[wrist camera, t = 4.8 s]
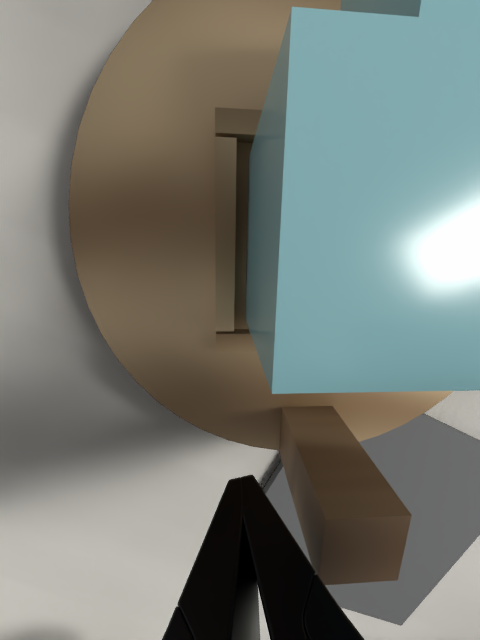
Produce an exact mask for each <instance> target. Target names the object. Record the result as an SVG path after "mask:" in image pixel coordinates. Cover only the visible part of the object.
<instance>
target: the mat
mask: <svg viewBox="0 0 480 640" xmlns="http://www.w3.org/2000/svg"><path fill="white" fill-rule="evenodd" d="M359 443H360V444H361V446H362V447H363V449H364V450H365V451H366V453H367V454H368V456H369V457H370V458H371V460H372V461H373V462H374V464H375V465H376V467H377V468H378V469H379V471H380V472H381V473H382V475H383V476H384V478H385V479H386V480H387V482H388V483H389V485H390V486H391V487H392V489H393V490H394V491H395V493H396V494H397V496H398V497H399V498H400V500H401V501H402V502H403V504H404V505H405V507H406V508H407V509H408V511H409V512H410V513H411V515H412V517H411V522H410V526H409V531H408V535H407V540H406V545H405V549H404V554H403V558H402V563H401V568H400V572H399V577H398V580H397V581H382V582H367V583H352V584H337V585H325V586H326V588H327V589H328V591H329V592H330V593H331V595H332V596H333V598H334V599H335V601H336V602H337V604H338V605H339V606H340V607H342V608H345V609H348V610H352V611H355V612H358V613H361V614H365V615H368V616H371V617H375V618H378V619H381V620H384V621H388V622H391V623H394V624H398V625H402V624H403V623H404V622H405V621H406V620H407V618H408V617H409V616H410V615H411V614H412V613H413V611H414V610H415V609H416V608H417V607H418V606H419V604H420V603H421V602H422V601H423V600H424V599H425V598H426V596H427V595H428V594H429V593H430V592H431V591H432V589H433V588H434V587H435V586H436V585H437V584H438V582H439V581H440V580H441V579H442V578H443V577H444V576H445V574H446V573H447V572H448V571H449V570H450V569H451V567H452V566H453V565H454V564H455V563H456V562H457V560H458V559H459V558H460V557H461V556H462V555H463V553H464V552H465V551H466V550H467V549H468V548H469V547H470V545H471V544H472V543H473V542H474V541H475V540H476V538H477V537H478V536H479V535H480V440H478V439H476V438H473V437H471V436H469V435H467V434H465V433H463V432H461V431H459V430H457V429H455V428H453V427H451V426H449V425H447V424H444V423H442V422H440V421H438V420H436V419H434V418H432V417H430V416H428V415H426V414H424V413H423V414H421V415H419V416H418V417H416V418H414V419H412V420H411V421H409V422H407V423H405V424H404V425H402V426H399V427H397V428H395V429H392V430H390V431H388V432H386V433H383V434H381V435H379V436H376V437H373V438H370V439H366V440H363V441H360V442H359ZM263 491H264V493H265V494H266V496H267V497H268V499H269V500H270V502H271V503H272V505H273V507H274V508H275V510H276V511H277V513H278V514H279V516H280V517H281V519H282V520H283V522H284V523H285V525H286V527H287V528H288V530H289V531H290V533H291V534H292V536H293V537H294V539H295V540H296V542H297V543H298V545H299V546H300V548H301V550H302V551H303V553H304V554H305V556H306V557H307V559H308V560H309V562H310V563H311V561H310V557H309V554H308V550H307V547H306V543H305V540H304V536H303V533H302V530H301V526H300V523H299V519H298V516H297V512H296V509H295V505H294V502H293V498H292V495H291V491H290V488H289V485H288V481H287V478H286V474H285V471H284V467H283V464H282V460H281V461H280V463H279V465H278V466H277V468H276V469H275V471H274V472H273V474H272V476H271V477H270V479H269V480H268V482H267V484H266V485H265V487H264V488H263ZM311 565H312V564H311Z"/></svg>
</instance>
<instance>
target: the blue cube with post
mask: <svg viewBox="0 0 480 640" xmlns="http://www.w3.org/2000/svg"><path fill="white" fill-rule="evenodd" d="M245 320H246V323H247V325H248V328H249V331H250V334H251V337H252V339H253V342H254V345H255V348H256V351H257V354H258V356H259V359H260V362H261V365H262V368H263V370H264V373H265V376H266V379H267V382H268V385H269V387H270V390H271V393H272V394H293V393H352V392H410V391H468V390H480V0H341V8H340V11H339V10H327V9H314V8H302V7H292V8H291V11H290V15H289V18H288V22H287V25H286V29H285V32H284V36H283V39H282V43H281V46H280V50H279V53H278V57H277V60H276V64H275V67H274V71H273V74H272V78H271V81H270V85H269V88H268V92H267V95H266V99H265V102H264V106H263V109H262V113H261V116H260V120H259V123H258V127H257V130H256V134H255V137H254V141H253V144H252V148H251V151H250V155H249V165H248V208H247V251H246V294H245Z"/></svg>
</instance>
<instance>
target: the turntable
mask: <svg viewBox="0 0 480 640" xmlns="http://www.w3.org/2000/svg"><path fill="white" fill-rule="evenodd" d="M292 7H302V8H314V9H327V10H339V11H340V8H341V0H153V1H152V2H151V3H150V4H149V5H148V6H147V8H146V9H145V10H144V11H143V12H142V13H141V14H140V15H139V16H138V17H137V18H136V19H135V20H134V21H133V23H132V24H131V26H130V27H129V29H128V30H127V31H126V33H125V34H124V36H123V37H122V38H121V40H120V41H119V43H118V44H117V46H116V47H115V48H114V50H113V51H112V53H111V54H110V56H109V58H108V60H107V62H106V64H105V66H104V68H103V70H102V72H101V74H100V76H99V78H98V80H97V81H96V83H95V85H94V87H93V89H92V92H91V94H90V97H89V100H88V103H87V106H86V109H85V112H84V115H83V118H82V120H81V123H80V126H79V130H78V135H77V140H76V145H75V149H74V154H73V159H72V164H71V175H70V190H69V219H70V235H71V243H72V249H73V254H74V259H75V264H76V269H77V274H78V277H79V280H80V283H81V286H82V289H83V292H84V295H85V298H86V301H87V305H88V307H89V309H90V311H91V313H92V315H93V317H94V319H95V321H96V324H97V326H98V328H99V330H100V332H101V334H102V336H103V337H104V339H105V340H106V342H107V343H108V345H109V346H110V348H111V350H112V351H113V353H114V354H115V356H116V357H117V359H118V360H119V361H120V363H121V364H122V365H123V366H124V367H125V369H126V370H127V371H128V372H129V373H130V375H131V376H132V377H133V378H134V379H135V381H136V382H137V383H138V384H139V385H140V386H142V387H143V388H144V389H145V390H146V391H147V392H148V393H149V394H150V395H151V396H152V397H153V398H154V399H156V400H157V401H158V402H159V403H161V404H162V405H163V406H165V407H166V408H168V409H169V410H170V411H172V412H173V413H174V414H176V415H177V416H179V417H180V418H182V419H184V420H186V421H187V422H189V423H191V424H193V425H195V426H197V427H198V428H200V429H202V430H204V431H207V432H209V433H212V434H214V435H217V436H219V437H222V438H224V439H227V440H230V441H234V442H237V443H241V444H245V445H249V446H253V447H260V448H267V449H274V450H279V453H280V457H281V460H282V464H283V467H284V471H285V474H286V478H287V481H288V485H289V488H290V491H291V495H292V498H293V502H294V505H295V509H296V512H297V516H298V519H299V523H300V526H301V530H302V533H303V536H304V540H305V543H306V547H307V550H308V554H309V557H310V561H311V564H312V566H313V568H314V569H315V571H316V574H318V575H319V577H320V578H321V580H322V581H323V583H324V585H337V584H352V583H367V582H382V581H397V580H398V577H399V572H400V568H401V563H402V558H403V554H404V549H405V545H406V540H407V535H408V531H409V526H410V522H411V517H412V515H411V513H410V512H409V511H408V509H407V508H406V507H405V505H404V504H403V502H402V501H401V500H400V498H399V497H398V496H397V494H396V493H395V491H394V490H393V489H392V487H391V486H390V485H389V483H388V482H387V480H386V479H385V478H384V476H383V475H382V473H381V472H380V471H379V469H378V468H377V467H376V465H375V464H374V462H373V461H372V460H371V458H370V457H369V456H368V454H367V453H366V451H365V450H364V449H363V447H362V446H361V444H360V443H359V442H360V441H363V440H366V439H370V438H373V437H376V436H379V435H381V434H383V433H386V432H388V431H390V430H392V429H395V428H397V427H399V426H402V425H404V424H405V423H407V422H409V421H411V420H412V419H414V418H416V417H418V416H419V415H421V414H423V413H425V412H426V411H428V410H429V409H430V408H432V407H433V406H434V405H436V404H437V403H439V402H440V401H441V400H443V399H444V398H446V397H447V396H448V395H449V394H451V393H452V392H453V391H410V392H352V393H293V394H272V393H271V390H270V387H269V385H268V382H267V379H266V376H265V373H264V370H263V368H262V365H261V362H260V359H259V356H258V354H257V351H256V348H255V345H254V342H253V339H252V337H251V334H250V331H249V328H248V325H247V323H246V320H245V294H246V251H247V208H248V165H249V155H250V151H251V148H252V144H253V141H254V137H255V134H256V130H257V127H258V123H259V120H260V116H261V113H262V109H263V106H264V102H265V99H266V95H267V92H268V88H269V85H270V81H271V78H272V74H273V71H274V67H275V64H276V60H277V57H278V53H279V50H280V46H281V43H282V39H283V36H284V32H285V29H286V25H287V22H288V18H289V15H290V11H291V8H292Z"/></svg>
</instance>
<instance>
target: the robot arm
mask: <svg viewBox="0 0 480 640" xmlns="http://www.w3.org/2000/svg"><path fill="white" fill-rule="evenodd" d="M258 588H259V592H260V596H261V601H262V605H263V609H264V614H265V618H266V622H267V627H268V631H269V635H270V640H364V638H363V637H362V636H361V634H360V633H359V632H358V631H357V629H356V628H355V627H354V625H353V624H352V623H351V621H350V620H349V619H348V618H347V616H346V615H345V614H344V612H343V611H342V609H341V608H340V606H339V605H338V604H337V602H336V601H335V599H334V598H333V596H332V595H331V593H330V592H329V591H328V589H327V588H326V586H325V585H324V583H323V581H322V580H321V578H320V577H319V575H318V574H316V571H315V569H314V568H313V566H312V565H311V563H310V562H309V560H308V559H307V557H306V556H305V554H304V553H303V551H302V550H301V548H300V546H299V545H298V543H297V542H296V540H295V539H294V537H293V536H292V534H291V533H290V531H289V530H288V528H287V527H286V525H285V523H284V522H283V520H282V519H281V517H280V516H279V514H278V513H277V511H276V510H275V508H274V507H273V505H272V503H271V502H270V500H269V499H268V497H267V496H266V494H265V493H264V491H263V490H262V488H261V487H260V485H259V484H258V482H257V480H256V479H255V477H254V476H253V475H248V476H244V477H241V478H240V477H239V478H235V479H230V480H229V481H228V483H227V486H226V488H225V490H224V493H223V495H222V498H221V500H220V502H219V505H218V507H217V510H216V512H215V514H214V517H213V519H212V522H211V524H210V526H209V529H208V531H207V534H206V536H205V539H204V541H203V543H202V546H201V548H200V551H199V553H198V555H197V558H196V560H195V563H194V565H193V567H192V570H191V572H190V575H189V577H188V579H187V582H186V584H185V587H184V589H183V592H182V594H181V596H180V599H179V601H178V607H176V608H175V610H174V613H173V615H172V618H171V620H170V623H169V625H168V627H167V630H166V632H165V634H164V636H163V639H162V640H260V625H259V603H258Z"/></svg>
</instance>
